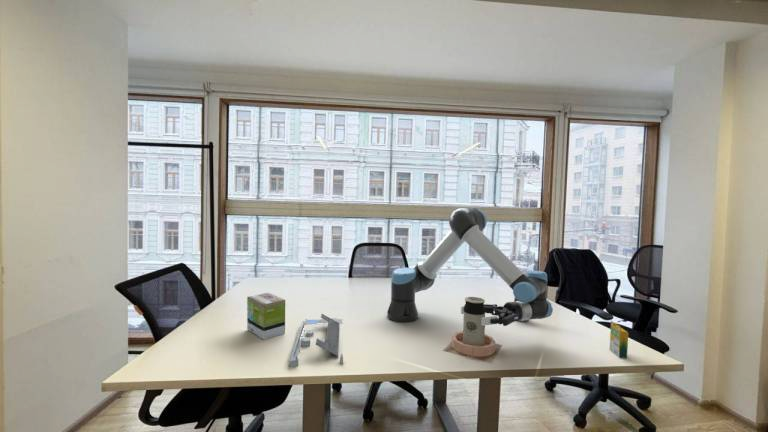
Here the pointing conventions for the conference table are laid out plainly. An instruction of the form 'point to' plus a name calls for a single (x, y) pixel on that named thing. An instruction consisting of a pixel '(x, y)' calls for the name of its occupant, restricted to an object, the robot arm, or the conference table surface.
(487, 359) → the cork mat
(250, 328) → the tea box
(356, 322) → the conference table surface
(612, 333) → the crayon box
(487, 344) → the bowl
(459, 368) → the conference table surface
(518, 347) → the conference table surface
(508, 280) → the robot arm
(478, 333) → the travel mug
